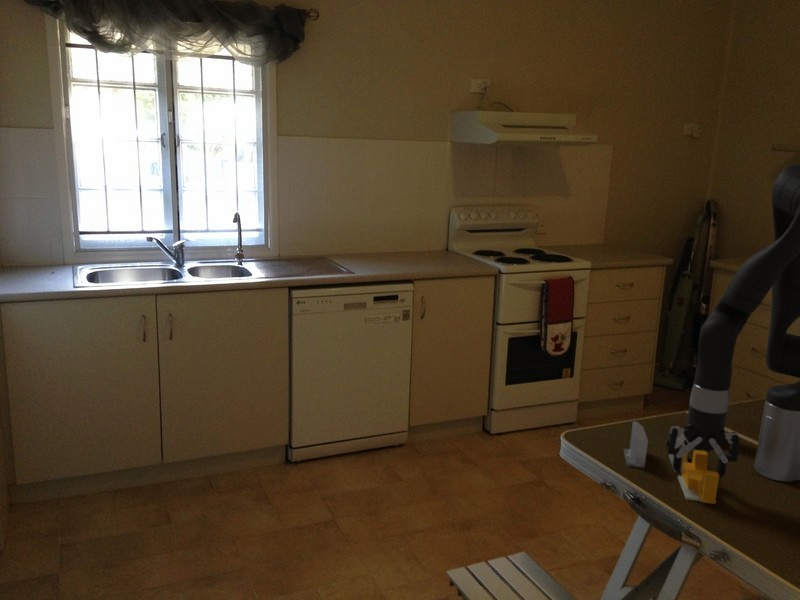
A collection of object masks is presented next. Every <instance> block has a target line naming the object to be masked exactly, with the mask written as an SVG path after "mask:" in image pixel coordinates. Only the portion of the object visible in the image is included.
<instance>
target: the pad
mask: <svg viewBox="0 0 800 600" xmlns="http://www.w3.org/2000/svg"><path fill="white" fill-rule="evenodd" d="M677 479H678V482H679V485H680V488H681V489H682V492H683V494H684V498H685V499H686V500H688V501H695V502H696V501H697V502H702V501H701V499H700V497H699V495H698V493H697V490H694V489H688V488H687V486H686V484H685V481H684V479H683V477H682V475H677ZM716 503H717V500H715V504H716Z"/></svg>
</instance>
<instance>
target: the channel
mask: <svg viewBox="0 0 800 600" xmlns="http://www.w3.org/2000/svg"><path fill="white" fill-rule="evenodd" d="M675 426H676V427H679V428H680V426H678V425H675ZM685 438H686V437H685V435H684V434H681V435H680V437H679V438H677V439H676V444H675V448H677V447H678V446H679V445H680V444H681V442H682V441H683V440H684V439H685ZM648 439H649V438H648V437H647V434H646V432H645V428H644V426H643V425H641V423H639V422H638V421H635V420H634V421H632V425H631V433H630V441H629V448H623V454H624V458H625V462H626V463H625V464H626V466H627V467H630V468H639V469H645V466H646V465H645V464H646V459H647V453H648V452H647V451H648V443H649V440H648ZM688 454H689V452H687V453H685V454H684V455H683V456H682V464H681V470H680V473H679V474H682V471H683V464H684V462H686V463H690V462H689V460H688ZM668 458H669V461H670V465H672V469H673V472H674V473H676V471H675V470H674V468H673V459H674V455H672V454H669V453H668Z"/></svg>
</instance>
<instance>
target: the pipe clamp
mask: <svg viewBox="0 0 800 600" xmlns="http://www.w3.org/2000/svg"><path fill="white" fill-rule="evenodd" d="M708 457H709V454H708V451H705V450H695V449H693V453H692V459H691V462H689V463H686V462H684V464H683V471H682V473H681V476H682V477H683V479H684V481H685V484H686V486H687V488H688V489H694V490H697V493H698V495H699V497H700V499H701V501H700V502H701V503H703V504H713V505H715V504H716V503H715V500H716V499H717V491H718V486H719V480H720V478H719V474H718V473H717V472H716V471H713V470H708V459H709V458H708ZM716 501H717V500H716Z"/></svg>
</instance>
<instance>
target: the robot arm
mask: <svg viewBox="0 0 800 600" xmlns="http://www.w3.org/2000/svg"><path fill="white" fill-rule="evenodd" d="M771 191H772V192H771V209H772V210H771V211H772V219H773V242H772V243H771V244H768V245H767V246H766V247H763V248H762V249H760V250H759V251H758V252H756V253H755V254H752V255H751V256H750V257H749V258H747V259H746V260H745V261H744V262H743V263H742V264H741V266H739V268H738V270H737V271H736V272H735V274H734V275H733V277H732V279H731V280H730V282H729V283H728V285H727V287H726V288H725V290H724V293H723V294H722V297H721V298H720V300H719V301H718V303H717V304H716V305H715V306H714V308H713V309H712V311H711V312H710V313H709V315H708V317H707V318H706V319H705V320H704V323H703V324H702V326H701V328H700V333H699V337H698V347H697V348H698V351H697V352H698V354H697V356H698V357H697V362H696V367H695V374H694V381H693V385H692V389H691V393H690V397H689V405H688V413H687V419H686V424H685V427H680V426H679V427H676V426H677V425H675V424H671V425H670V427H669V432H668V436H667V441H666V445H665V448H666V451H667V453H668V455H669V454H672V455H674V459H673V466H672V469H673V468H674V469H673V471H674V470H675V471H676V472H675V471H674V472H675V473H676V474H681V473H680V470H681V464H682V456H683V455H684V454H685V453H687V452H688V453H689V452H690V451H692V450H698V451H706V452H711V451H715V453H716V454H717V457H718V458H717V464H716V469H715V470H716V471H715V472H717V473H718V474H719V479H722V477H724V476H725V474H726V470H727V464H728V463H729V462H733V463H736V462H737V461H738V457H739V449H740V448H739V447H740V436H739V434H738V433H737V432H736V431H731V432H725V428H726V421H727V415H728V410H729V409H728V408H729V402H730V389H731V384H732V383H731V381H732V375H733V365H732V363H733V358H734V353H735V347H736V345H737V344H736V343H737V341H738V337H739V336H740V333H742V330H743V328H744V327H745V325H746V323H747V322H748V320H749V319H750V317H751V315H752V313H754V312H755V311H757V309H758V308H759V306H760V305H761V303H762V302H763V301H764V299H765V298H766V296H767V295H768V293H769V292H770V290H771V311H770V313H771V314H770V324H769V329H768V331H769V332H768V338H767V345H766V353H765V362H766V367H767V368H768V370H769V371H771V372H774V373H776V374H780V375H786V376H790V377H794V378H799V379H800V335H796V334H791V333H788V332H787V331H788V330H789V328H790V327H791V325H793V324H794V322H795V321H797V320H798V319H799V318H800V164H793V165H789V166H787V167H785V168H784V169H783V170H782V171H781V172H780V173H779V174H778V176H777V177H776V179H775V181H774V183H773V187H772V190H771ZM765 397H766V398H765V402H764V407H763V413H762V418H761V419H762V420H761V426H760V432H759V436H758V437H759V438H758V443H757V448H756V454H755V459H754V464H753V465H754V466H753V468H754V469H753V470H754V471H755V472H756V473H758V475H761V476H762V477H765V478H767V479H770V480H775V481H778V482H794V481H800V380H799V381H797V382H794V383H789V384H779V385H774V386H771V387H769V388H768V389H767V392H766V396H765ZM681 434H684V436H685V439H684V440H683V441H682V442H681V444H680V445H679V446H678V447H677V448H675V444H676V439H677V438H679V437H680V435H681ZM725 440H727V443H728V444H729V446H728V447H729V449H728V453H725V452H724V451H723V449H722V448H721V446H720V445H721V444H722V442H723V441H725Z"/></svg>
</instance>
